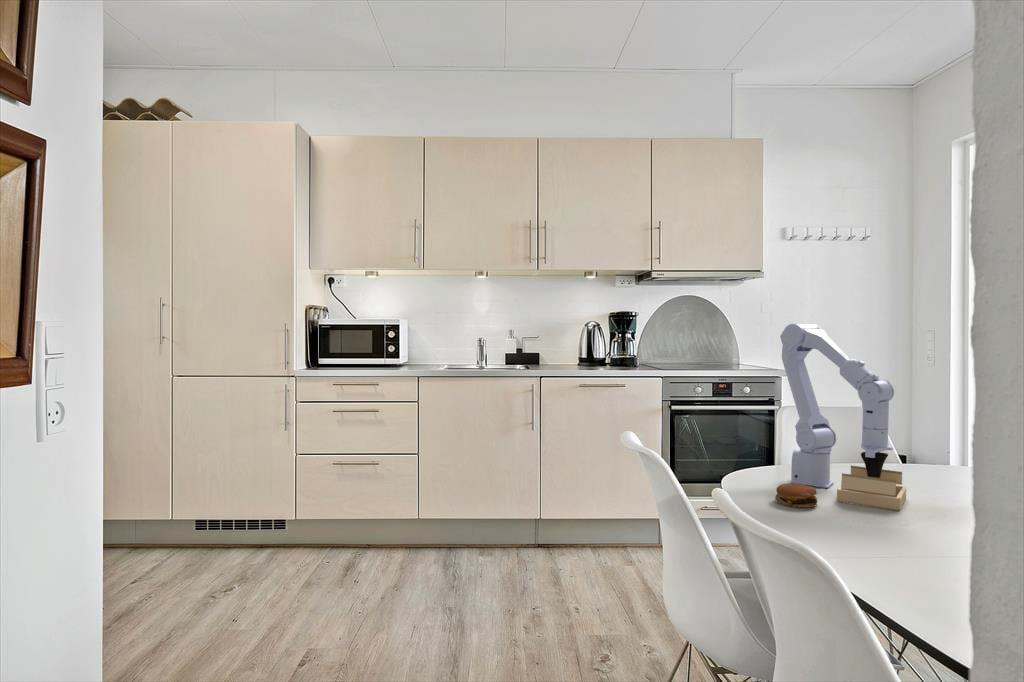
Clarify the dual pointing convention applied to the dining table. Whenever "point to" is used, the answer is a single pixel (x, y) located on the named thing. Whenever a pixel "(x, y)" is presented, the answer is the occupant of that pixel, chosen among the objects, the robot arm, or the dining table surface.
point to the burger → (796, 495)
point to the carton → (873, 498)
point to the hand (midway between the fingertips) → (873, 481)
